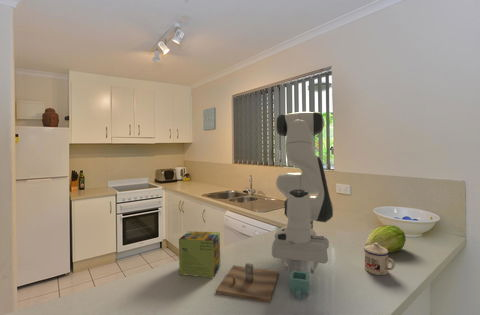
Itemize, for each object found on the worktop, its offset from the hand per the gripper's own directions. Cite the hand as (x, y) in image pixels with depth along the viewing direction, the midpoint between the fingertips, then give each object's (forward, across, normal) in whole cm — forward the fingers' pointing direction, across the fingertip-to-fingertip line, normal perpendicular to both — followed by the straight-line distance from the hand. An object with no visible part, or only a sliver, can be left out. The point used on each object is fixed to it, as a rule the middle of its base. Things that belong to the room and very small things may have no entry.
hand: (299, 271), depth 93 cm
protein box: (+7, +42, -3) cm, 43 cm away
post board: (+7, +19, +1) cm, 20 cm away
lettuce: (+6, -38, -46) cm, 60 cm away
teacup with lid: (+6, -31, -22) cm, 38 cm away
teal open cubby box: (+7, 0, +1) cm, 7 cm away
